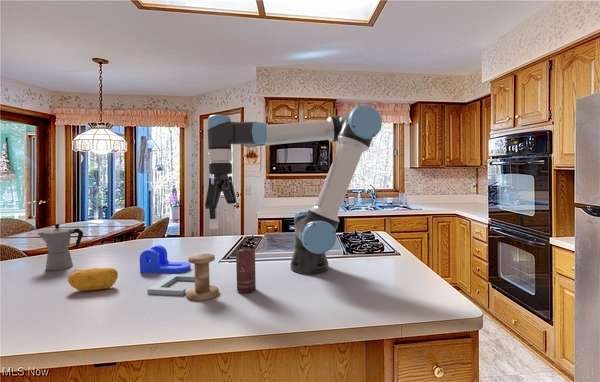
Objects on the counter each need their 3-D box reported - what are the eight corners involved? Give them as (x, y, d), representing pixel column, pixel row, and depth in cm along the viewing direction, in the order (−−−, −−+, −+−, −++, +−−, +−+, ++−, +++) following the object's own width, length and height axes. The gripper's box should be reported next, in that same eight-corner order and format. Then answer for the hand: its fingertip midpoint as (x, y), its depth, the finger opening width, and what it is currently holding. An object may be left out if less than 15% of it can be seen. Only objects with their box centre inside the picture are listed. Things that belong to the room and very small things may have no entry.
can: (252, 294, 104) (252, 251, 103) (234, 293, 105) (233, 250, 104) (258, 287, 110) (258, 246, 109) (241, 286, 111) (240, 246, 110)
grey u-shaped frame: (202, 279, 118) (202, 275, 118) (182, 295, 103) (182, 290, 103) (171, 278, 120) (171, 274, 120) (147, 293, 105) (147, 289, 105)
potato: (77, 286, 112) (75, 266, 111) (121, 284, 114) (120, 264, 113) (65, 294, 105) (63, 273, 104) (113, 292, 107) (112, 271, 106)
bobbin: (223, 289, 108) (222, 253, 107) (211, 301, 98) (210, 261, 98) (194, 288, 110) (193, 252, 109) (180, 300, 100) (178, 260, 99)
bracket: (140, 273, 127) (139, 250, 126) (151, 266, 135) (150, 245, 134) (185, 273, 125) (184, 250, 125) (193, 267, 133) (193, 245, 133)
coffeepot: (35, 272, 127) (32, 227, 126) (43, 266, 135) (41, 223, 134) (82, 268, 133) (80, 224, 132) (87, 261, 141) (85, 220, 140)
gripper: (224, 163, 122) (226, 219, 124) (191, 162, 98) (194, 232, 99) (243, 162, 121) (245, 219, 123) (215, 161, 96) (218, 232, 98)
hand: (222, 225), depth 111 cm, fingers open, 13 cm apart
